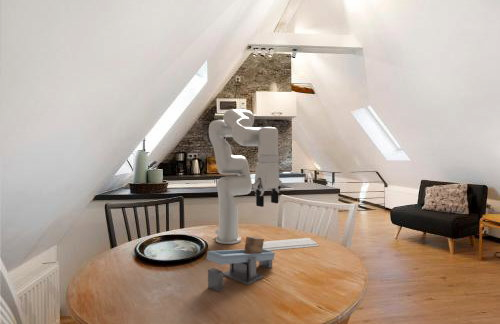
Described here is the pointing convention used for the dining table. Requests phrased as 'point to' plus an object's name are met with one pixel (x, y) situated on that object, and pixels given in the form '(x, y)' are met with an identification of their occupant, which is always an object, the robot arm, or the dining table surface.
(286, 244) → the baseboard molding
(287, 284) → the dining table surface
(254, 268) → the stand
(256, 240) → the rider
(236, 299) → the dining table surface
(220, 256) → the beam
